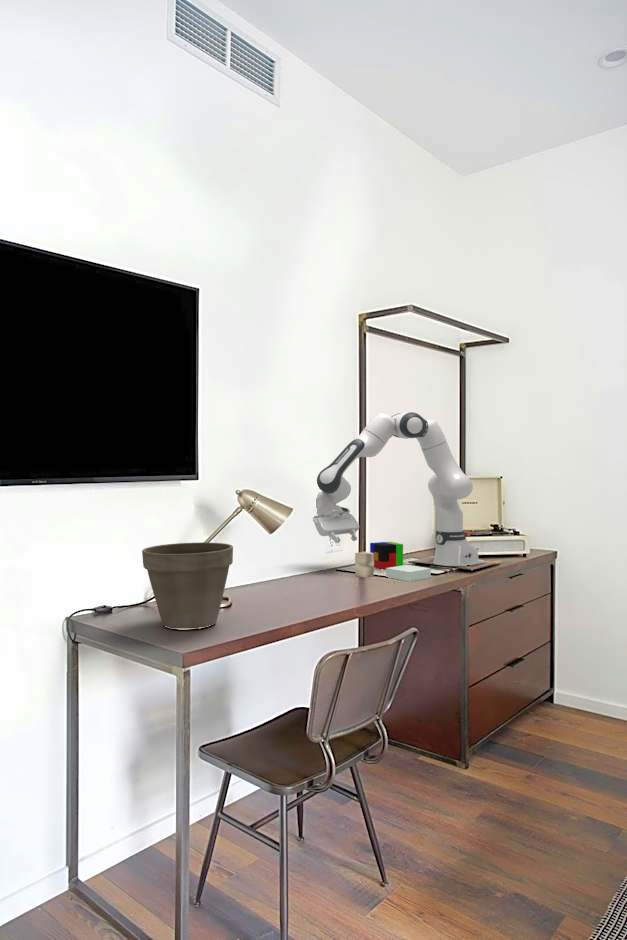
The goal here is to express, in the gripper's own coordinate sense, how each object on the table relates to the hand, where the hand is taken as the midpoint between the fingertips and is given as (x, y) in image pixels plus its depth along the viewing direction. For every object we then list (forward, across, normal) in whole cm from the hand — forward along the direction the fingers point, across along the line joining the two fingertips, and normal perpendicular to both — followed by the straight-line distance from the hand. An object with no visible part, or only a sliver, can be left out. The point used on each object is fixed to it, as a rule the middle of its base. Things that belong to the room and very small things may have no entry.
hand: (346, 540), depth 273 cm
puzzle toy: (+10, +22, +8) cm, 25 cm away
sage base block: (+26, +10, -7) cm, 29 cm away
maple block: (+16, 0, +2) cm, 16 cm away
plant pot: (+31, -91, -12) cm, 97 cm away
